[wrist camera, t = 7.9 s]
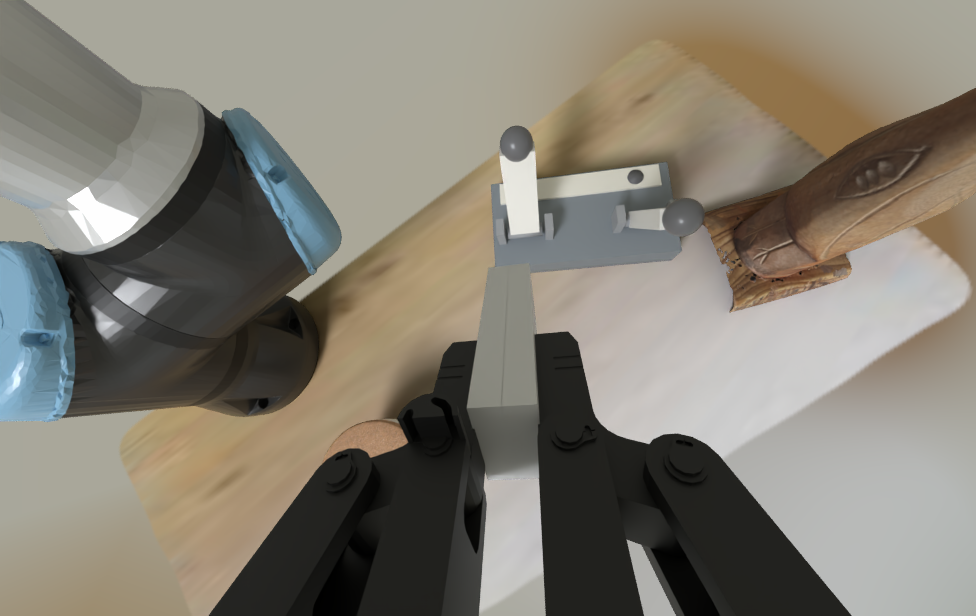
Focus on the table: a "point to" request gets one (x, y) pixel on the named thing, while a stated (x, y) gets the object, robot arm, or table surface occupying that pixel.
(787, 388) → the table surface
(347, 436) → the lidded jar
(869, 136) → the bird sculpture
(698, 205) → the lever
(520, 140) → the marked lever
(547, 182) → the switch unit
